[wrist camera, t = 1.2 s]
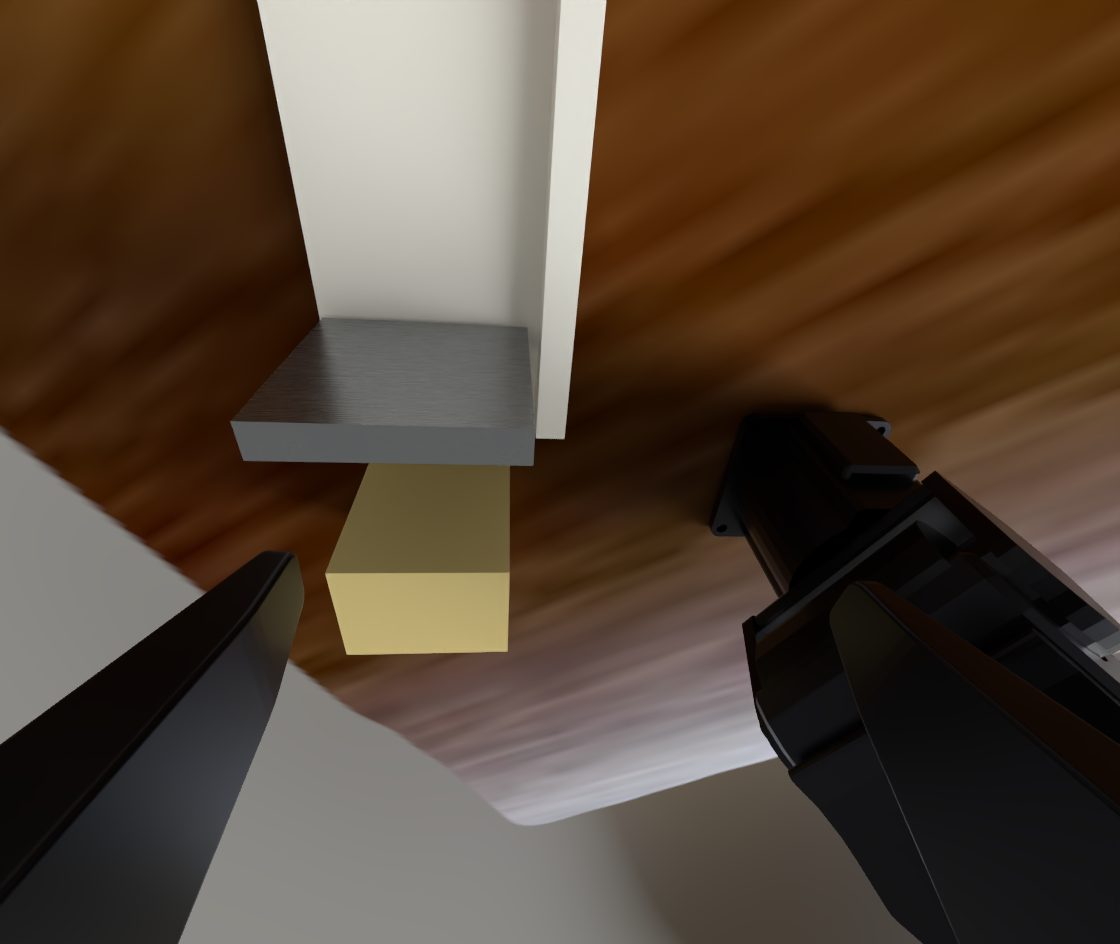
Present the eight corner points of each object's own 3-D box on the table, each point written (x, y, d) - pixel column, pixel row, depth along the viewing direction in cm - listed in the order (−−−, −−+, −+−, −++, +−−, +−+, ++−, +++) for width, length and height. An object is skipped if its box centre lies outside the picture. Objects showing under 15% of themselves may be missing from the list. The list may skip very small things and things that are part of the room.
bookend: (523, 420, 19) (529, 544, 13) (341, 415, 18) (271, 543, 13) (527, 327, 17) (535, 428, 11) (322, 317, 16) (230, 421, 11)
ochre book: (508, 521, 24) (507, 651, 18) (386, 521, 23) (346, 654, 18) (510, 449, 22) (509, 572, 16) (375, 447, 21) (325, 573, 15)
